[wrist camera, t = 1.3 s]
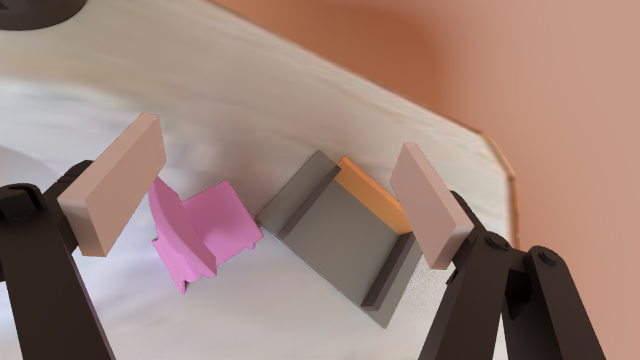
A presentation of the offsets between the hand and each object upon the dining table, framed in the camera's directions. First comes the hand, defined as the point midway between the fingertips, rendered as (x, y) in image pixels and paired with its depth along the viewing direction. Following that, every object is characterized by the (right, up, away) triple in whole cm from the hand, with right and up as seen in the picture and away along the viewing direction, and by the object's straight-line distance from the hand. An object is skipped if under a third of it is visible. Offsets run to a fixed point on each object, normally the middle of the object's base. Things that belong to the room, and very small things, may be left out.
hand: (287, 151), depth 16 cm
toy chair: (-11, -9, +16) cm, 21 cm away
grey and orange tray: (+5, -9, +21) cm, 24 cm away
